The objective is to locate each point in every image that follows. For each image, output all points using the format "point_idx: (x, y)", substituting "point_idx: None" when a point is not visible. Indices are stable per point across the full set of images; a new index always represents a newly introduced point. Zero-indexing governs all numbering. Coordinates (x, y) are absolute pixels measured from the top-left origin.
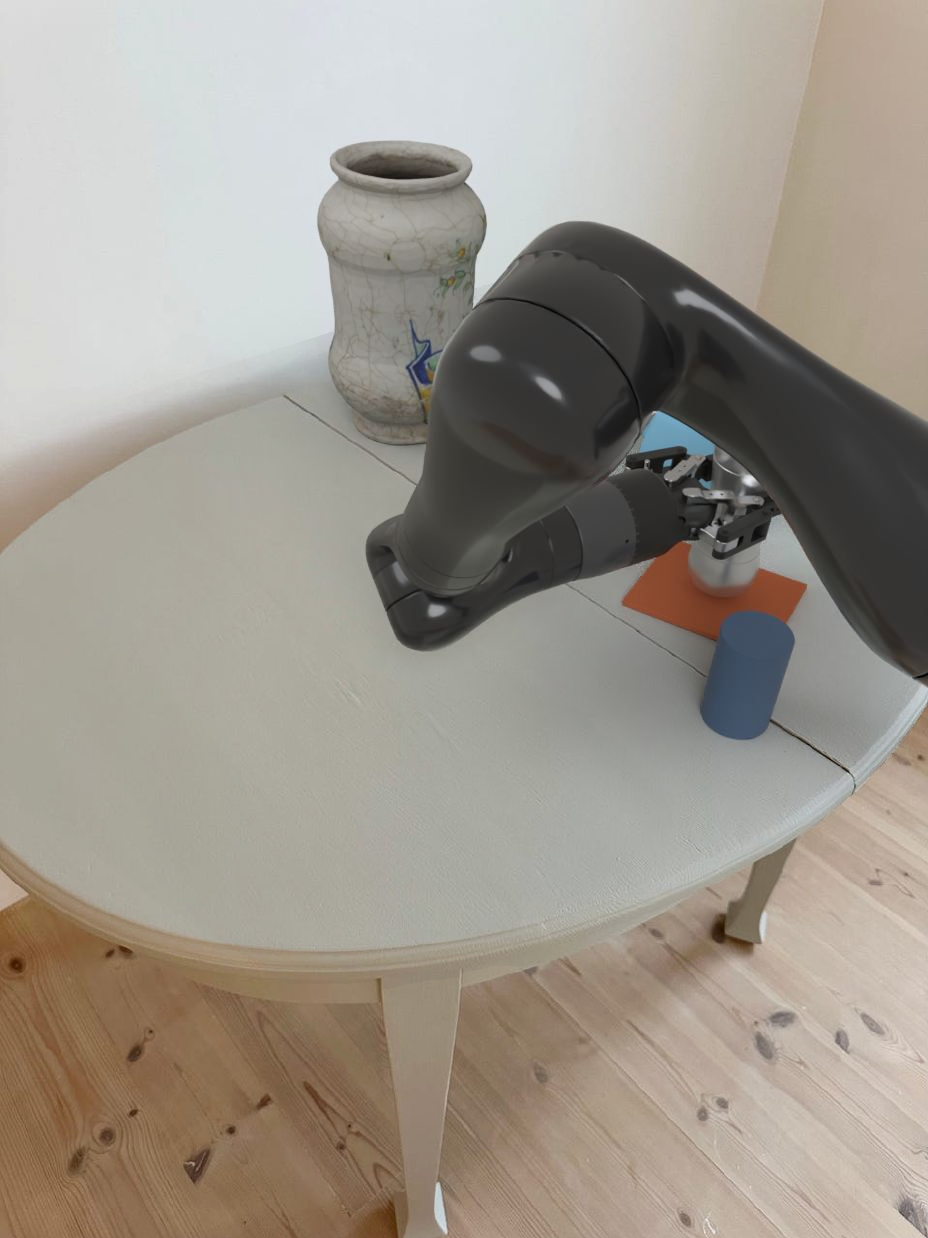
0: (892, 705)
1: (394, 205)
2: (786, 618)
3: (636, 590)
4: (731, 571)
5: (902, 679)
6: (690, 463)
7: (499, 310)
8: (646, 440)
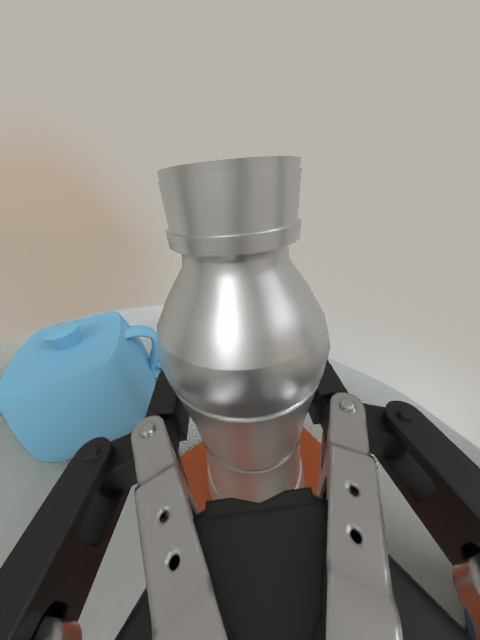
0: (429, 418)
1: None
2: (313, 438)
3: None
4: (301, 486)
5: (389, 393)
6: (165, 483)
7: None
8: (15, 428)
